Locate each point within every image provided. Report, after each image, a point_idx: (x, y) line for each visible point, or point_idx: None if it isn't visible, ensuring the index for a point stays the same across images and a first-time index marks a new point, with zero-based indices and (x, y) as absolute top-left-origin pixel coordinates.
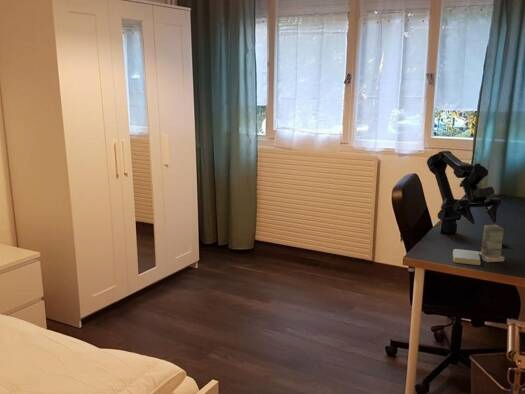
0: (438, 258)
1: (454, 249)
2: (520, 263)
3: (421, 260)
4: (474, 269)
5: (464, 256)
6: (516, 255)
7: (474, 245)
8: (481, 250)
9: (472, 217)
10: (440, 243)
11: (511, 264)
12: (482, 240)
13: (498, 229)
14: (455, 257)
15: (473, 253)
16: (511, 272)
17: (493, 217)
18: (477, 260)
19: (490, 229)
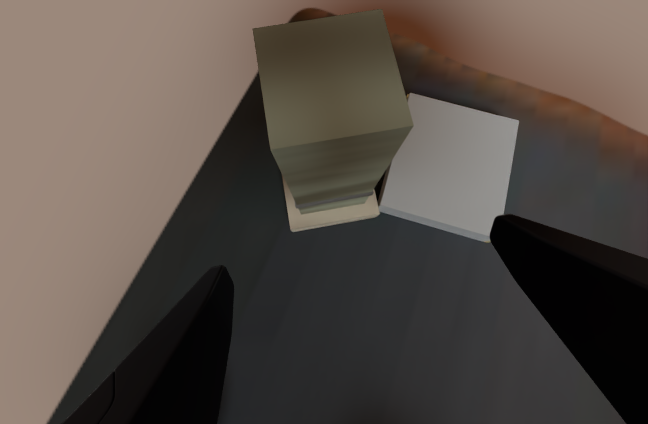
0: (565, 173)
1: None
2: (222, 130)
3: (644, 147)
4: (439, 63)
5: (471, 132)
6: (182, 228)
7: (331, 383)
8: (366, 198)
9: (580, 249)
10: (521, 415)
11: None
12: (377, 182)
13: (310, 27)
14: (516, 120)
15: (414, 172)
16: None
17: (202, 331)
18: (420, 98)
19: (383, 36)
